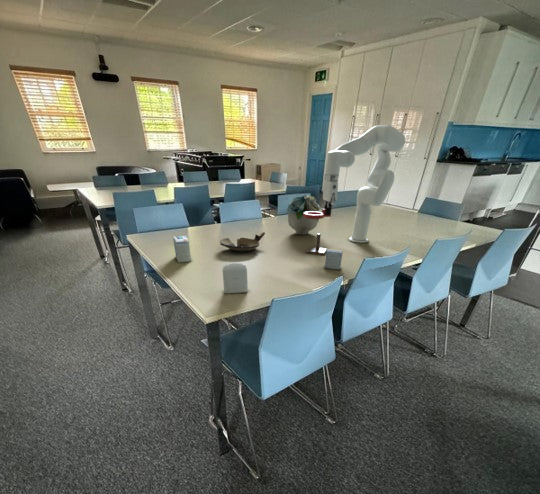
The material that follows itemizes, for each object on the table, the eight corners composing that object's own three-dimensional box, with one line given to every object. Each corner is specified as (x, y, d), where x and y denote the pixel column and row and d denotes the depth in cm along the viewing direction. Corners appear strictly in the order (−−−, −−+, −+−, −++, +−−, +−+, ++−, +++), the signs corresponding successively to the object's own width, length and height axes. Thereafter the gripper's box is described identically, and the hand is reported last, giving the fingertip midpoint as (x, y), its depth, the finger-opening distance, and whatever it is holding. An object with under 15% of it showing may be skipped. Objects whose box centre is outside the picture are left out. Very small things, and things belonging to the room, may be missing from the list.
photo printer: (224, 294, 131) (222, 265, 124) (223, 290, 134) (221, 262, 127) (248, 293, 133) (247, 264, 125) (247, 289, 136) (246, 261, 129)
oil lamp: (215, 246, 189) (214, 233, 184) (262, 243, 198) (262, 230, 193) (224, 257, 172) (223, 243, 167) (274, 253, 181) (275, 239, 176)
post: (310, 248, 190) (312, 231, 184) (326, 250, 187) (329, 232, 181) (306, 253, 182) (308, 234, 176) (323, 255, 179) (325, 236, 173)
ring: (307, 219, 174) (308, 211, 172) (300, 215, 183) (301, 207, 181) (334, 218, 178) (335, 210, 175) (325, 214, 187) (326, 207, 185)
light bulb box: (175, 256, 171) (172, 236, 164) (187, 255, 173) (185, 235, 167) (178, 262, 163) (175, 241, 156) (191, 261, 165) (189, 240, 159)
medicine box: (340, 267, 162) (343, 250, 157) (339, 270, 159) (341, 253, 154) (325, 265, 164) (327, 248, 159) (324, 268, 161) (326, 251, 156)
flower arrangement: (321, 238, 211) (326, 198, 196) (285, 237, 211) (287, 197, 196) (317, 229, 231) (321, 192, 217) (284, 228, 231) (286, 191, 217)
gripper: (344, 179, 165) (338, 216, 176) (331, 176, 178) (327, 211, 188) (331, 179, 163) (326, 217, 174) (319, 176, 176) (316, 211, 187)
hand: (327, 214), depth 181 cm, fingers closed on ring, 2 cm apart
